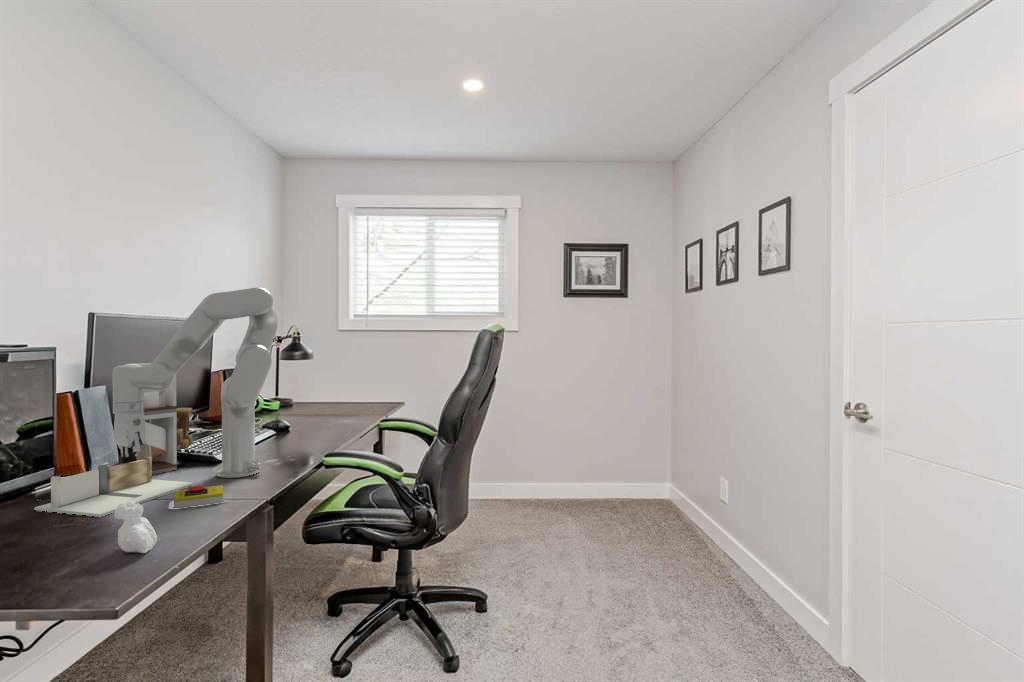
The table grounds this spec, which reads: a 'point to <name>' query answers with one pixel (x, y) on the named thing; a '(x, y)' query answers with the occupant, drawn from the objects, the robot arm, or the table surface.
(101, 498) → the board
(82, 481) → the fixed fence section
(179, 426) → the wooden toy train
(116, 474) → the wooden panel
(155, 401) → the white wooden-base stand
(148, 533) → the white tied sack
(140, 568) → the table surface
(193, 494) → the emergency button
